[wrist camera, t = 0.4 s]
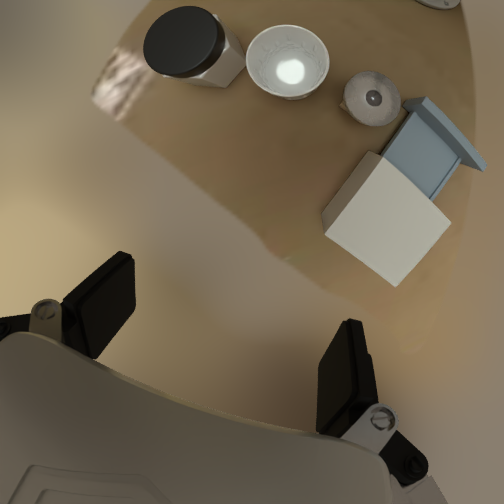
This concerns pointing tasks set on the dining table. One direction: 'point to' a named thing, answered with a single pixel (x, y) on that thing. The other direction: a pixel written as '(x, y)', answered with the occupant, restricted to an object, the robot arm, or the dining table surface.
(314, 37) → the white cup
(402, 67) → the dining table surface
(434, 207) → the housing
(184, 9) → the jar
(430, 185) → the blue-grey open box
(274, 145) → the dining table surface
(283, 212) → the dining table surface
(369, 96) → the disc
